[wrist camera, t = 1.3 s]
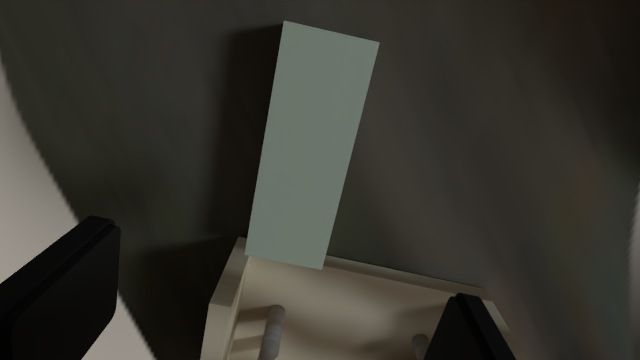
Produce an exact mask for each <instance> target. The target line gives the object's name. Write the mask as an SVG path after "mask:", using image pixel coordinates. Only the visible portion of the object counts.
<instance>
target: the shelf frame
mask: <svg viewBox="0 0 640 360" xmlns="http://www.w3.org/2000/svg"><path fill="white" fill-rule="evenodd" d="M246 242H247V238H244V237H238V239H237V241H236V243H235V246H234V248H233V250H232V253H231V255H230V257H229V259H228V262H227V264H226V266H225V269H224V271H223V273H222V275H221V278H220V280H219V282H218V285H217V287H216V289H215V291H214V294H213V296H212V298H211V300H210V303H209V308H208V314H207V321H206V327H205V333H204V339H203V345H202V352H201V358H200V360H423V359H424V356H425V354H426V352H427V349H428V347H429V344H430V342H431V340H432V337H433V335H434V332H435V330H436V328H437V325H438V323H439V320H440V318H441V316H442V313H443V311H444V308H445V306H446V304H447V301H448V299H449V298H450V297H451V296H454V297H455V295H456V294H457V293H465V294H469V295H474V296H478V297H480V298H481V299H482V301H483V303H484V305H485V306H486V308H487V310H488V311H489V313H490V315H491V317H492V318H493V320H494V322H495V324H496V325H497V327H498V329H499V330H500V332H501V334H502V336H503V337H504V339H505V341H506V343H507V344H508V346H509V348H510V349H511V351H512V353H513V355H514V356H515V358H516V360H528V359H527V358H526V356H525V354H524V353H523V351H522V350H521V348H520V346H519V345H518V343H517V341H516V340H515V338H514V336H513V335H512V333H511V331H510V330H509V328H508V327H507V325H506V323H505V322H504V320H503V318H502V317H501V315H500V313H499V312H498V310H497V308H496V307H495V305H494V304H493V302H492V300H491V299H490V297H489V295H488V294H487V292H486V290H485V289H483V288H479V287H474V286H469V285H464V284H460V283H455V282H450V281H446V280H441V279H436V278H432V277H427V276H422V275H417V274H413V273H408V272H403V271H399V270H394V269H389V268H385V267H380V266H375V265H371V264H366V263H361V262H356V261H352V260H347V259H342V258H338V257H333V256H328V255H326V256H325V260H324V264H323V268H322V270H320V269H314V268H309V267H304V266H299V265H294V264H289V263H284V262H278V261H273V260H268V259H263V258H258V257H253V256H247V255H244V254H245V248H246Z"/></svg>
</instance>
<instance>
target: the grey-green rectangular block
mask: <svg viewBox="0 0 640 360" xmlns="http://www.w3.org/2000/svg"><path fill="white" fill-rule="evenodd" d="M378 47H379V42H375V41H370V40H366V39H362V38H357V37H353V36H349V35H344V34H340V33H336V32H331V31H327V30H322V29H318V28H314V27H309V26H305V25H301V24H296V23H292V22H288V21H284V23H283V29H282V35H281V41H280V47H279V53H278V59H277V65H276V71H275V77H274V83H273V89H272V95H271V100H270V106H269V112H268V118H267V124H266V130H265V136H264V142H263V148H262V154H261V160H260V166H259V171H258V177H257V183H256V189H255V195H254V201H253V207H252V213H251V219H250V225H249V231H248V237H247V242H246V248H245V254H244V255H247V256H253V257H258V258H263V259H268V260H273V261H278V262H284V263H289V264H294V265H299V266H304V267H309V268H314V269H320V270H322V268H323V264H324V260H325V256H326V252H327V248H328V244H329V240H330V236H331V232H332V228H333V224H334V220H335V216H336V212H337V208H338V205H339V201H340V197H341V193H342V189H343V185H344V181H345V177H346V173H347V169H348V165H349V161H350V157H351V153H352V149H353V145H354V141H355V137H356V134H357V130H358V126H359V122H360V118H361V114H362V110H363V106H364V102H365V98H366V94H367V90H368V86H369V82H370V78H371V74H372V70H373V66H374V63H375V59H376V55H377V51H378Z"/></svg>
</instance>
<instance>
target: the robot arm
mask: <svg viewBox="0 0 640 360" xmlns="http://www.w3.org/2000/svg"><path fill="white" fill-rule="evenodd" d="M120 234H121V231H120V227H118V226H115V222H114V221H113V220H111V219H106V218H101V217H97V216H89V217H87V218H86V219H84V220H83V221H82V222H81V223H79V224H78V225H77V226H75V227H74V228H73V229H71V230H70V231H69V232H68V233H66V234H65V235H64V236H62V237H61V238H60V239H58V240H57V241H56V242H54V243H53V244H52V245H50V246H49V247H48V248H47V249H45V250H44V251H43V252H42V253H40V254H39V255H37V256H36V257H35V258H34V259H32V260H31V261H30V262H28V263H27V264H26V265H24V266H23V267H22V268H21V269H19V270H18V271H17V272H15V273H14V274H13V275H11V276H10V277H9V278H7V279H6V280H5V281H3V282H2V283H1V284H0V360H81V359H82V358H83V357H84V355H85V354H86V353H87V351H88V350H89V349H90V347H91V346H92V344H93V343H94V342H95V341H96V339H97V338H98V337H99V335H100V334H101V333H102V331H103V330H104V329H105V327H106V326H107V325H108V324H109V322H110V321H111V319H112V317H113V316H114V313H115V310H116V303H117V286H118V268H119V251H120ZM423 360H516V358H515V356H514V355H513V353H512V351H511V349H510V348H509V346H508V344H507V343H506V341H505V339H504V337H503V336H502V334H501V332H500V330H499V329H498V327H497V325H496V324H495V322H494V320H493V318H492V317H491V315H490V313H489V311H488V310H487V308H486V306H485V305H484V303H483V301H482V299H481V298H480V297H478V296H474V295H469V294H465V293H457V294H456V295H455V297H454V296H451V297H450V298H449V299H448V301H447V304H446V306H445V308H444V311H443V313H442V316H441V318H440V320H439V323H438V325H437V328H436V330H435V332H434V335H433V337H432V340H431V342H430V344H429V347H428V349H427V352H426V354H425V356H424V359H423Z"/></svg>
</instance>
